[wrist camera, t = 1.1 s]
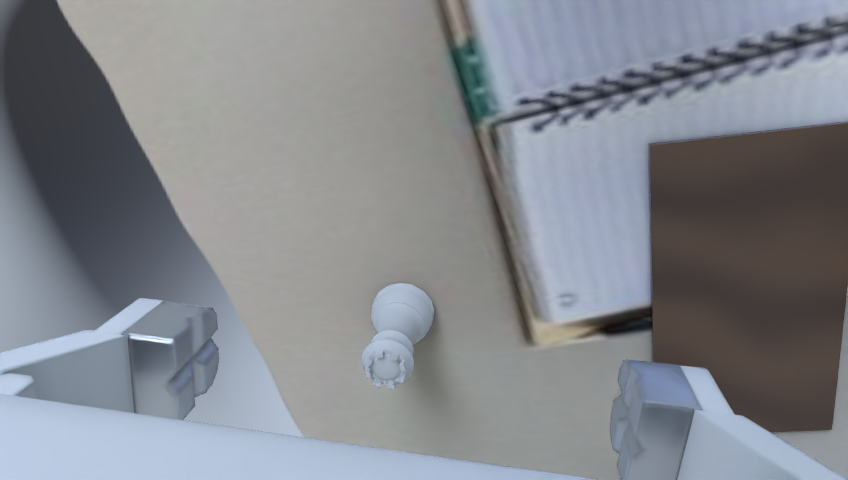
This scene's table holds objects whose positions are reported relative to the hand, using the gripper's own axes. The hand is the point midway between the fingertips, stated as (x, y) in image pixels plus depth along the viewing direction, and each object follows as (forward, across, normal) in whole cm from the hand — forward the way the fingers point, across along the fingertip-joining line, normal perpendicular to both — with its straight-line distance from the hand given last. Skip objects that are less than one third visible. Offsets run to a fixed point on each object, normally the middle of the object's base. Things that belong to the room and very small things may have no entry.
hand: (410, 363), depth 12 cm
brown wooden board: (+30, -19, +9) cm, 36 cm away
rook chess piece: (+30, +4, +13) cm, 33 cm away
